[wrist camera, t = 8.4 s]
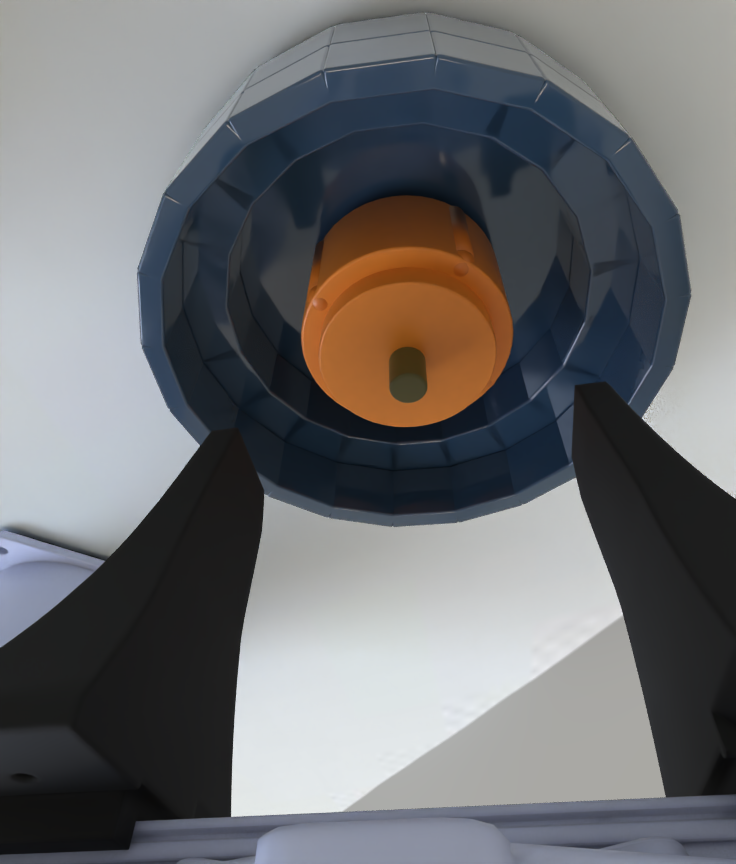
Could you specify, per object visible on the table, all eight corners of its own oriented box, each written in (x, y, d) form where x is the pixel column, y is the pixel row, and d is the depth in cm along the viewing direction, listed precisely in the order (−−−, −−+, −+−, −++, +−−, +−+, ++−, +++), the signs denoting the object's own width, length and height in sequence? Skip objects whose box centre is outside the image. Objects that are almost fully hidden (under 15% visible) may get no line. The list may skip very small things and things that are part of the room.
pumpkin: (432, 380, 22) (442, 499, 18) (278, 308, 20) (252, 422, 16) (539, 244, 18) (582, 353, 14) (366, 143, 17) (360, 236, 13)
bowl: (461, 476, 25) (473, 571, 22) (129, 338, 21) (82, 429, 18) (737, 186, 18) (820, 265, 14) (296, -124, 13) (267, -113, 10)
